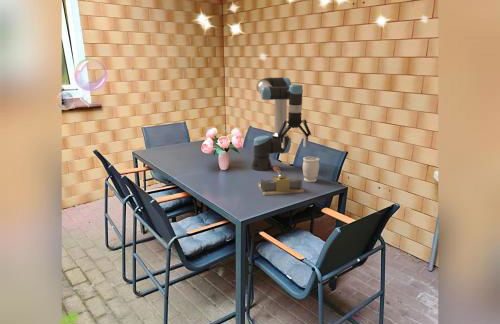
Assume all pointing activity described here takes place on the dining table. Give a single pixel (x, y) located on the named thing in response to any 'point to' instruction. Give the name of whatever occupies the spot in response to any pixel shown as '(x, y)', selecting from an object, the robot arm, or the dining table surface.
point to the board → (280, 191)
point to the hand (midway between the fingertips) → (293, 147)
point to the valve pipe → (281, 184)
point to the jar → (310, 168)
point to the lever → (278, 171)
